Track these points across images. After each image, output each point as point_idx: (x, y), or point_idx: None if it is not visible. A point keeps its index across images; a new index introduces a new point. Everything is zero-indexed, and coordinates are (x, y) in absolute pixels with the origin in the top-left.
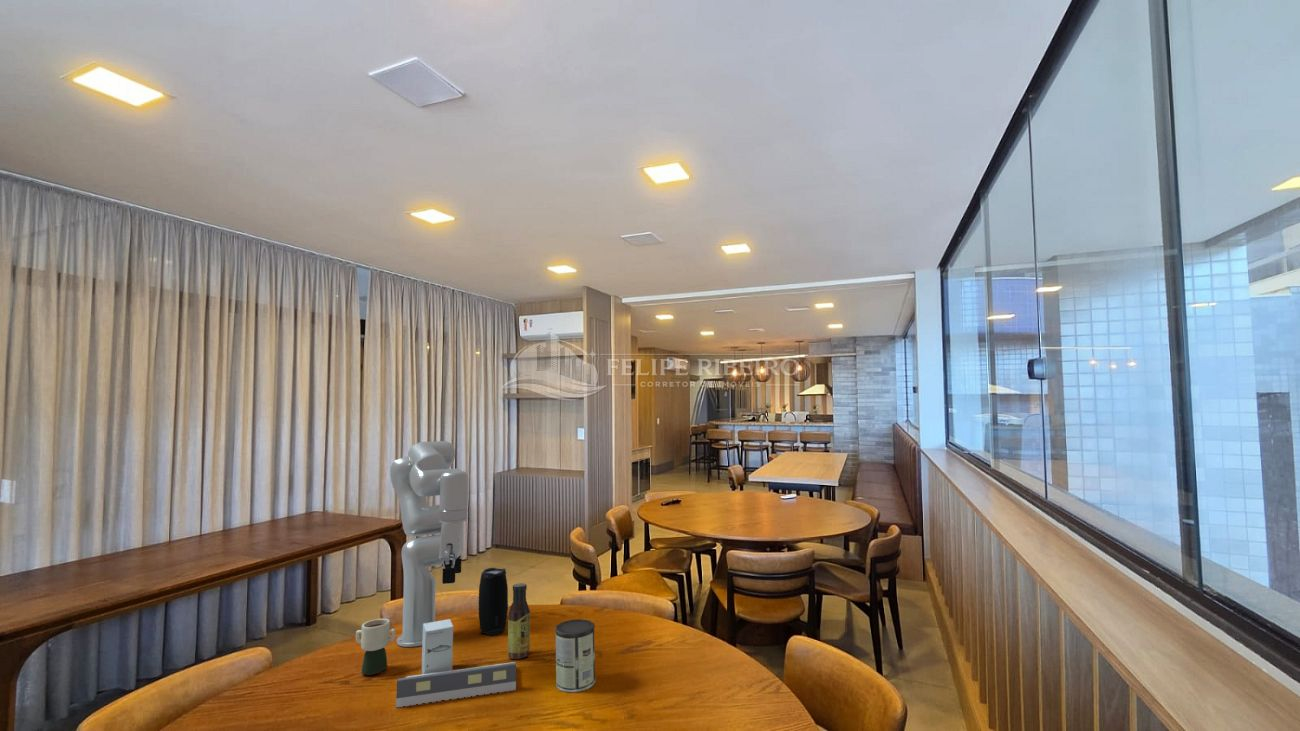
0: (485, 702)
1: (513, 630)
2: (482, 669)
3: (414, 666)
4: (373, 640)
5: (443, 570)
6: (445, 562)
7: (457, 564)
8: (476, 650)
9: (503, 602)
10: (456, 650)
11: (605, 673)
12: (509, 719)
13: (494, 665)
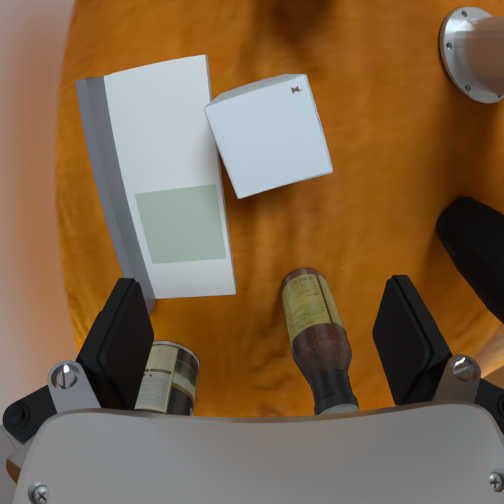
0: (108, 246)
1: (292, 320)
2: (119, 263)
3: (319, 51)
4: None
5: (87, 348)
6: (6, 420)
7: (394, 363)
8: (371, 193)
9: (471, 286)
10: (389, 145)
11: (196, 389)
12: (66, 285)
13: (221, 257)
